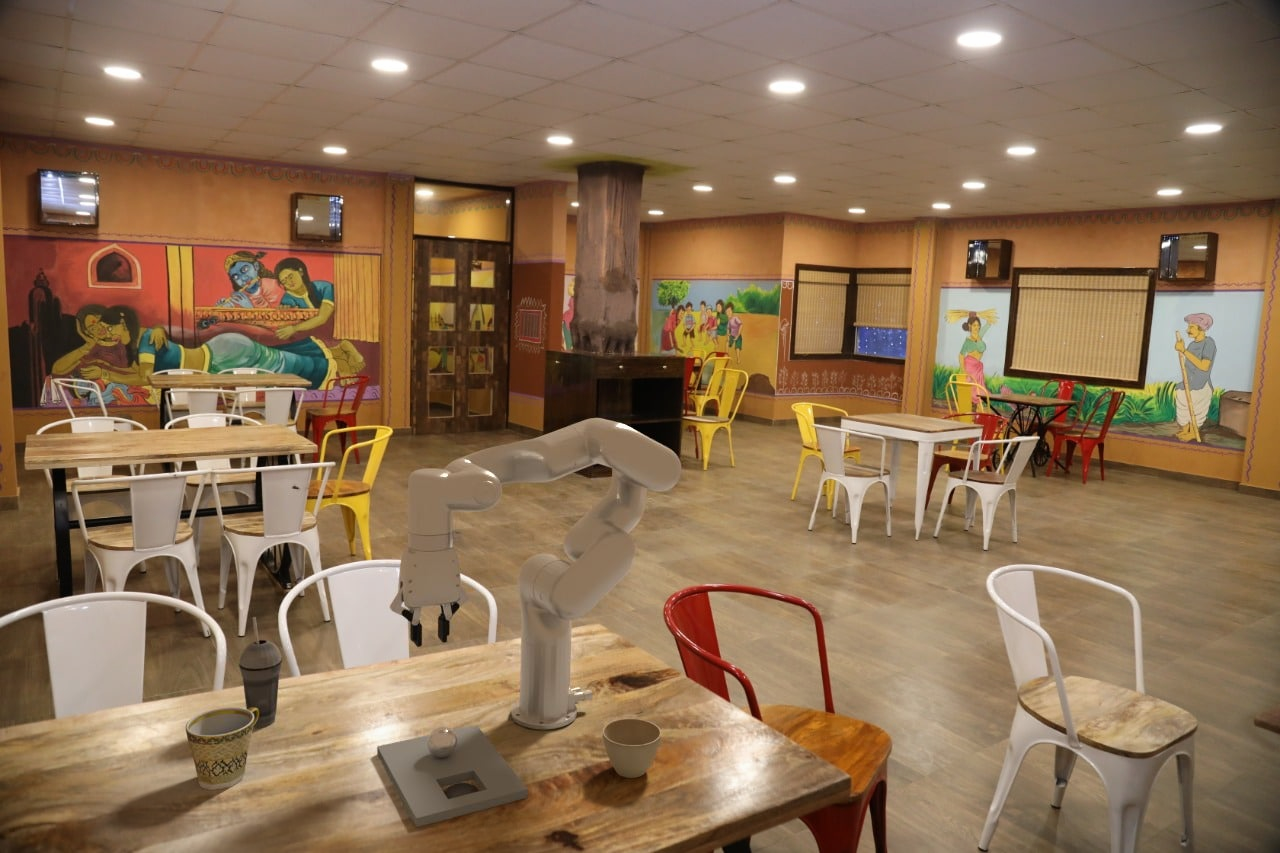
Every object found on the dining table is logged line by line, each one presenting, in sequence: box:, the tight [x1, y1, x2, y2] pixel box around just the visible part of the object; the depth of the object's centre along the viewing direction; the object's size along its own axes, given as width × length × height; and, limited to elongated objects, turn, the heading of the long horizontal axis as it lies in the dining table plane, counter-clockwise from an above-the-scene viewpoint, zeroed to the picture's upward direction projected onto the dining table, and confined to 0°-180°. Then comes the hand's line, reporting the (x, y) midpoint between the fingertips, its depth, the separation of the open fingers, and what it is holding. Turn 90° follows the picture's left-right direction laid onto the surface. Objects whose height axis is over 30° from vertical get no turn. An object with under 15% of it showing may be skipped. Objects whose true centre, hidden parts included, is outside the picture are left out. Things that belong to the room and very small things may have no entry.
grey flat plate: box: [376, 724, 529, 828], centre depth 145 cm, size 18×24×2 cm
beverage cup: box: [238, 616, 283, 729], centre depth 159 cm, size 7×7×20 cm
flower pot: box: [602, 717, 662, 779], centre depth 148 cm, size 10×10×7 cm
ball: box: [427, 726, 457, 758], centre depth 148 cm, size 5×5×5 cm
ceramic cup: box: [185, 706, 259, 791], centre depth 142 cm, size 13×10×10 cm
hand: (430, 641), depth 152 cm, fingers open, 3 cm apart
